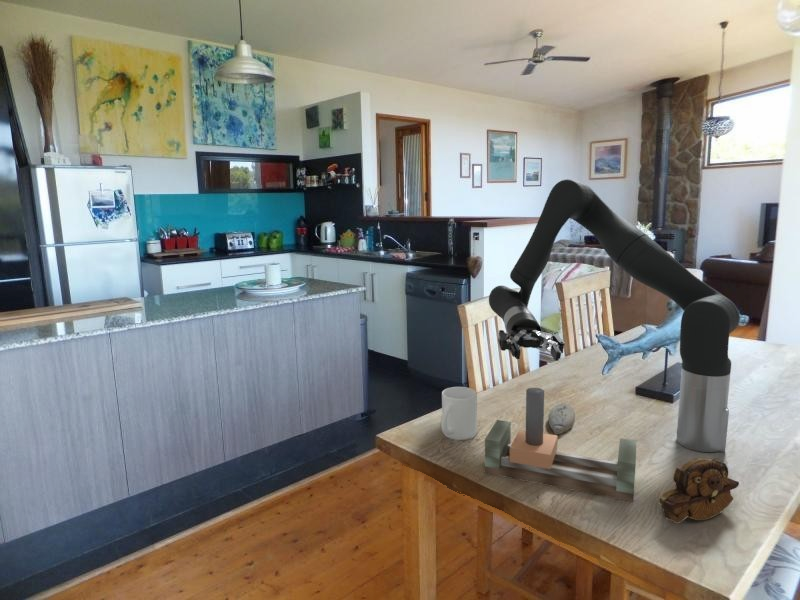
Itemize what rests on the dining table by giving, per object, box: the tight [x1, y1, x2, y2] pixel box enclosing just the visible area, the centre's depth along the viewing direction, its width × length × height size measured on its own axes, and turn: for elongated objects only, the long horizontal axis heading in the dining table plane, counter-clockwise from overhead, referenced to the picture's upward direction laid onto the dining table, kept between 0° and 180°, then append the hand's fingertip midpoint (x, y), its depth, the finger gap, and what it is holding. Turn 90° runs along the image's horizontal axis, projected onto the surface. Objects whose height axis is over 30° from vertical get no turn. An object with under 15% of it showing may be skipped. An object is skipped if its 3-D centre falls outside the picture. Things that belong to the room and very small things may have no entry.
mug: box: [440, 386, 478, 441], centre depth 124 cm, size 12×8×10 cm
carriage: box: [510, 387, 558, 469], centre depth 107 cm, size 8×9×14 cm
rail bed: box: [484, 419, 637, 502], centre depth 106 cm, size 28×10×8 cm, turn 65°
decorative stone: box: [547, 402, 576, 435], centre depth 130 cm, size 6×16×3 cm, turn 158°
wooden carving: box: [658, 457, 740, 524], centre depth 90 cm, size 16×5×10 cm, turn 115°
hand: (538, 356), depth 113 cm, fingers open, 8 cm apart
